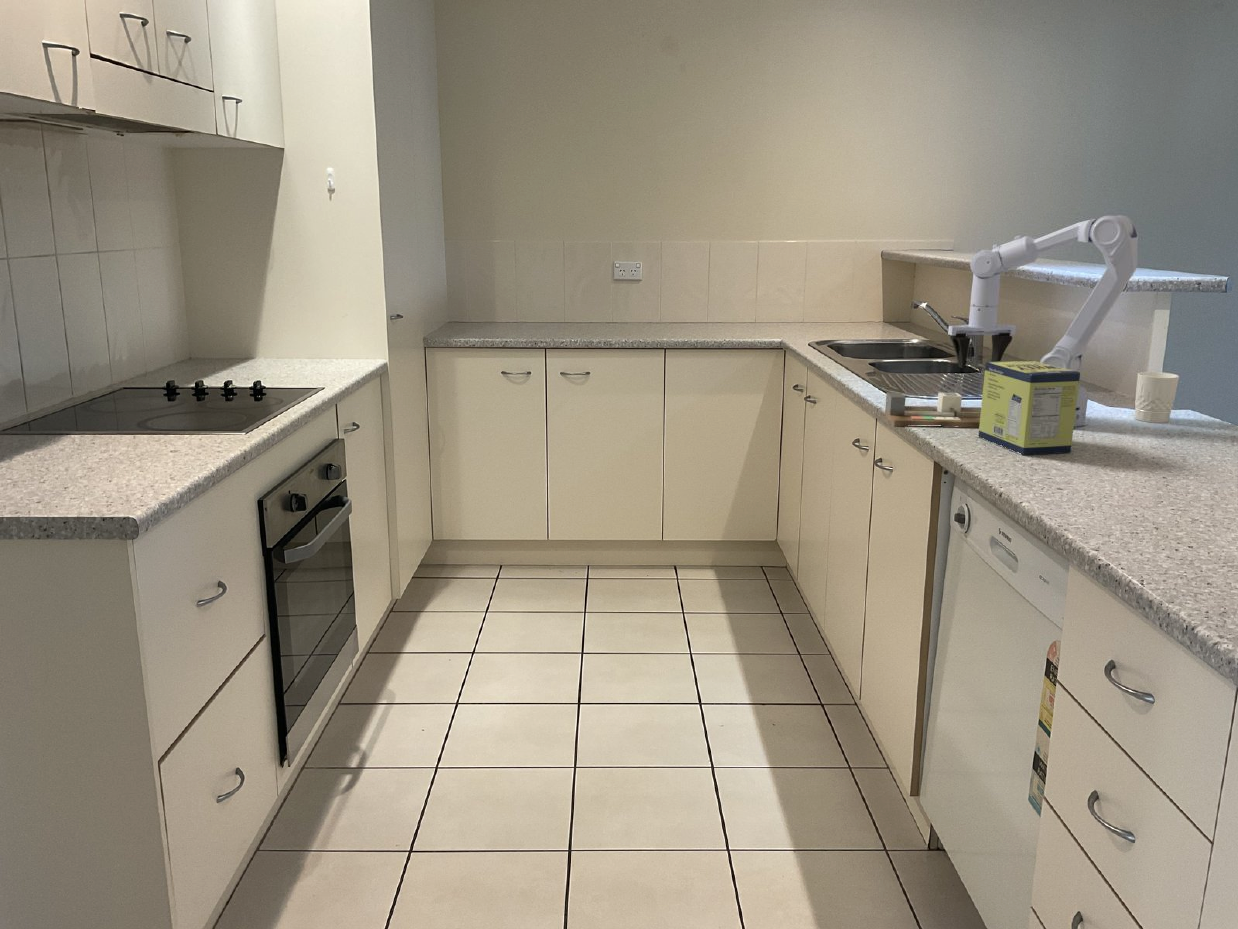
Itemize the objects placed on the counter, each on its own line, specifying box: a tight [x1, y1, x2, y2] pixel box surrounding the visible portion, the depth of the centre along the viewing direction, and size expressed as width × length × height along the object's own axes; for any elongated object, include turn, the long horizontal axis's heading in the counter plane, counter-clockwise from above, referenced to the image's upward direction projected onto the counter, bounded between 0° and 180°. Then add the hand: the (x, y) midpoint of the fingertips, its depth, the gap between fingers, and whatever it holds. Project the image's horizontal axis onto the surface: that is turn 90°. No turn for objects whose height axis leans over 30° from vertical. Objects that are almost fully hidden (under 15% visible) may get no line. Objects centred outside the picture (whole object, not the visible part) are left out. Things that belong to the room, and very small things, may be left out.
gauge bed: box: [884, 409, 980, 429], centre depth 210 cm, size 22×11×1 cm, turn 85°
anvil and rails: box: [884, 391, 981, 417], centre depth 211 cm, size 21×6×4 cm, turn 85°
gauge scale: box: [910, 416, 961, 421], centre depth 207 cm, size 10×3×1 cm, turn 85°
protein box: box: [978, 359, 1081, 456], centre depth 188 cm, size 10×16×16 cm
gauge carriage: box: [936, 392, 963, 417], centre depth 209 cm, size 4×8×4 cm, turn 175°
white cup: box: [1133, 371, 1180, 424], centre depth 211 cm, size 8×8×10 cm
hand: (978, 367), depth 217 cm, fingers open, 7 cm apart
